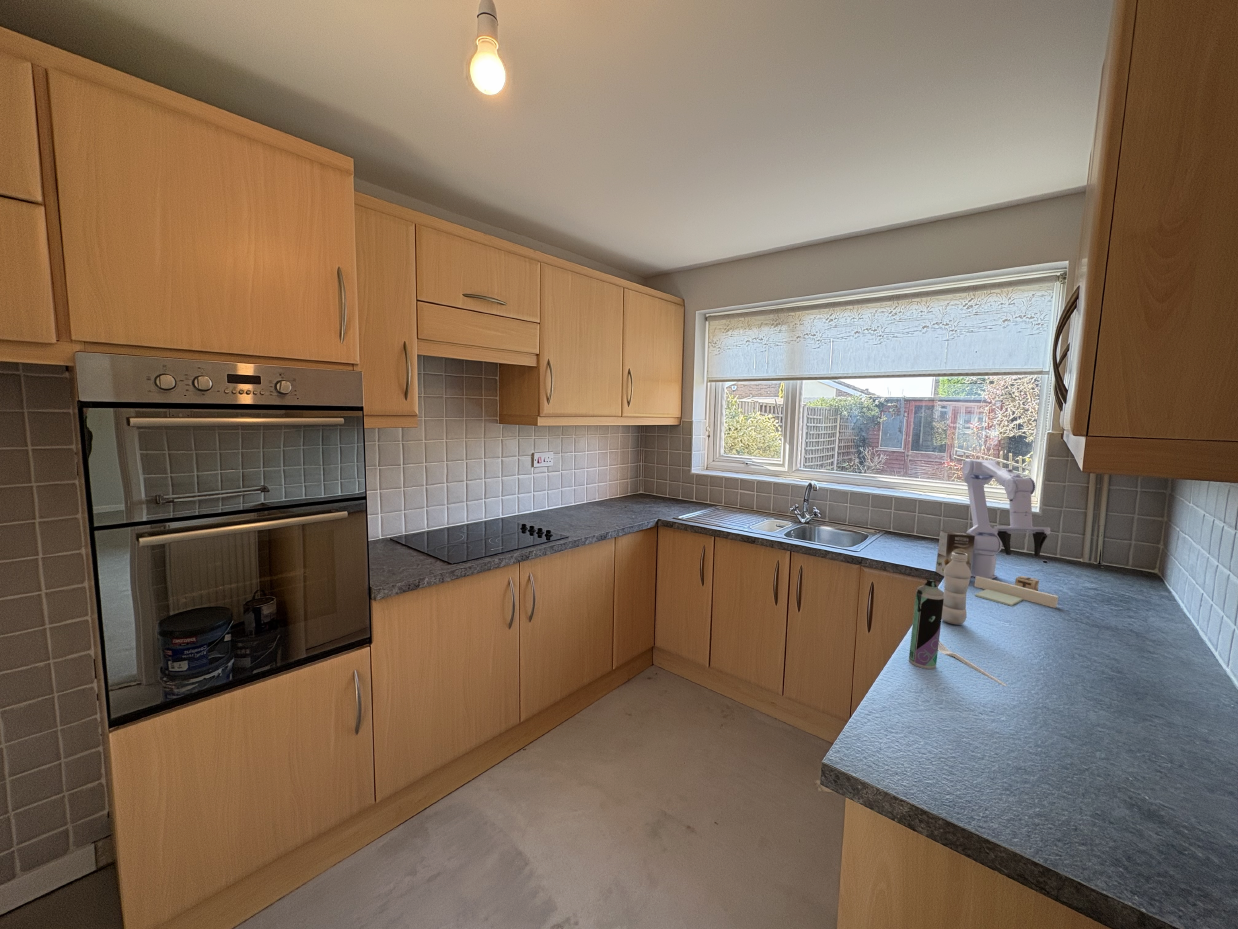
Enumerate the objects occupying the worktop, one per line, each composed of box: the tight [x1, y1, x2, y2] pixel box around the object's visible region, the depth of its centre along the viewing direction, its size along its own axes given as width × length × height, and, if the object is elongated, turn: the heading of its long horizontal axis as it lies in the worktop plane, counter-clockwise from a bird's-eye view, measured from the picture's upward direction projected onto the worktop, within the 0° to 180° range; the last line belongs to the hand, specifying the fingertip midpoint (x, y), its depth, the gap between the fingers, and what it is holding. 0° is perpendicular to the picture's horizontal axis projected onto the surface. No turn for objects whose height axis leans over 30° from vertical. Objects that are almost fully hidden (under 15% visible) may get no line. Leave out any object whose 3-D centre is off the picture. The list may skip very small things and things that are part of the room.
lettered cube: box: [1014, 575, 1040, 591], centre depth 171 cm, size 5×5×5 cm
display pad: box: [974, 589, 1023, 607], centre depth 165 cm, size 10×10×1 cm
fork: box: [938, 640, 1008, 687], centre depth 119 cm, size 3×20×2 cm, turn 11°
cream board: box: [974, 576, 1059, 609], centre depth 168 cm, size 2×22×4 cm, turn 36°
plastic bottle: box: [941, 552, 972, 626], centre depth 142 cm, size 6×7×20 cm
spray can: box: [908, 579, 944, 670], centre depth 117 cm, size 6×6×20 cm
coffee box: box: [934, 529, 975, 577], centre depth 188 cm, size 9×6×16 cm
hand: (1022, 555), depth 165 cm, fingers open, 7 cm apart
